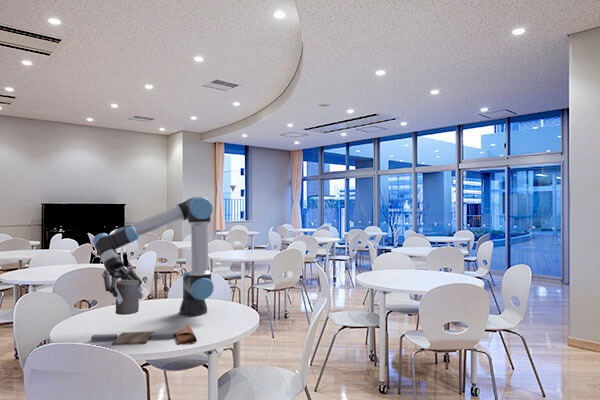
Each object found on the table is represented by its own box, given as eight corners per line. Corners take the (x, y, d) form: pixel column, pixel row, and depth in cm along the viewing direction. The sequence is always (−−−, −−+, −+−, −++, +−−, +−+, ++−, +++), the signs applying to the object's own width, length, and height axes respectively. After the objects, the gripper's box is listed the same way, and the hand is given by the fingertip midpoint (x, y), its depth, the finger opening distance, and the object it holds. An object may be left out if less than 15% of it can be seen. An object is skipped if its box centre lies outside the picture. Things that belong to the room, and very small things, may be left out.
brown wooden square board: (153, 333, 188) (153, 331, 188) (145, 343, 174) (145, 341, 174) (122, 334, 187) (122, 332, 187) (111, 344, 173) (111, 342, 173)
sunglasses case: (171, 333, 189) (178, 320, 190) (184, 339, 191) (191, 326, 193) (176, 345, 172) (185, 331, 174) (191, 351, 175) (199, 337, 176)
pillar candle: (110, 313, 179) (111, 279, 179) (127, 308, 188) (127, 276, 189) (127, 316, 176) (127, 281, 176) (143, 310, 185) (144, 277, 185)
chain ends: (174, 336, 184) (174, 332, 184) (173, 338, 181) (173, 334, 181) (93, 339, 180) (93, 334, 180) (91, 341, 177) (91, 337, 177)
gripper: (130, 263, 200) (149, 300, 191) (85, 269, 182) (104, 310, 173) (136, 253, 197) (156, 290, 188) (91, 258, 179) (111, 299, 170)
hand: (131, 299), depth 180 cm, fingers closed on pillar candle, 9 cm apart
